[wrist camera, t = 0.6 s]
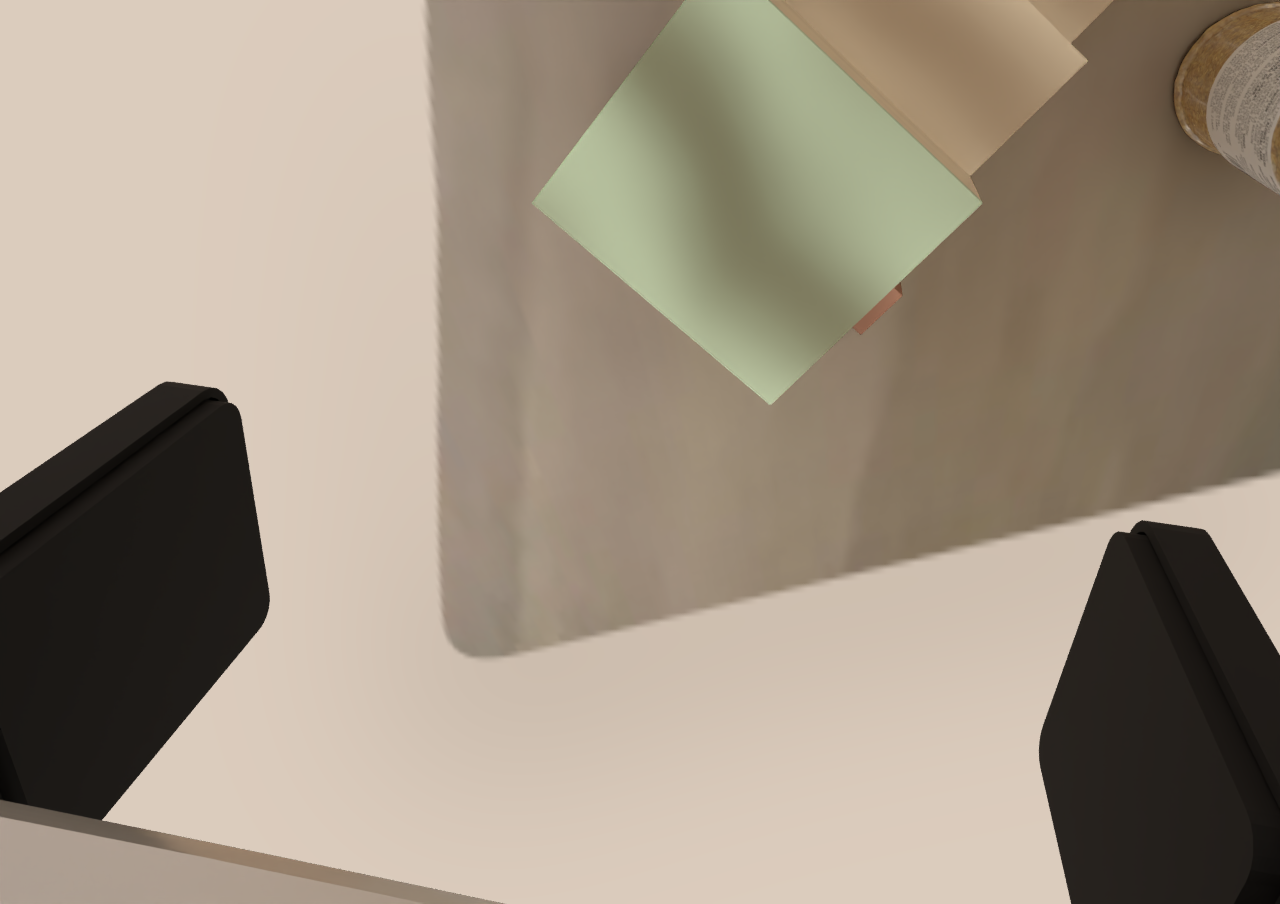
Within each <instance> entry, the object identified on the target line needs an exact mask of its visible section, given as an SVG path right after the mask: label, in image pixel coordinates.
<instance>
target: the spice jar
mask: <svg viewBox="0 0 1280 904" xmlns="http://www.w3.org/2000/svg"><path fill="white" fill-rule="evenodd" d="M1174 86H1175V90H1174V105H1175V110H1176V115H1177V117H1178V119H1179V122H1180V124H1181V127H1182V128H1183V130H1184V131H1185V133H1186V134H1187V135H1188V136H1189V137H1190V138H1191V139H1193V140H1194V141H1195V142H1196V143H1197V144H1198V145H1200V146H1202V147H1204V148H1206V149H1207V150H1209V151H1211V152H1215V153H1217V154H1220V155H1222V156H1223V157H1224V158H1225V159H1226V160H1227V161H1228V162H1230V163H1231V164H1232V165H1234V166H1235V167H1237V168H1238V169H1240V170H1241V171H1243V172H1244V173H1246V174H1247V175H1249V176H1250V177H1252V178H1254V179H1255V180H1257V181H1258V182H1260V183H1261V184H1263V185H1264V186H1266V187H1268V188H1269V189H1271V190H1272V191H1274V192H1275V193H1277V194H1278V195H1280V2H1272V3H1265V4H1258V5H1253V6H1251V7H1248V8H1245V9H1241V10H1239V11H1236V12H1234V13H1232V14H1231V15H1229V16H1227V17H1225V18H1223V19H1222V20H1221V21H1219V22H1217V23H1215V24H1214V25H1212V26H1211V27H1209V28H1208V29H1207V30H1206V31H1205V32H1204V33H1203V35H1202V36H1201V37H1200V38H1199V40H1198V41H1197V42H1196V43H1195V44H1194V45H1193V46H1192V48H1191V49H1190V51H1189V52H1188V54H1187V55H1186V57H1185V58H1184V60H1183V62H1182V64H1181V66H1180V69H1179V72H1178V75H1177V78H1176V80H1175V83H1174Z"/></svg>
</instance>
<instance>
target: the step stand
mask: <svg viewBox="0 0 1280 904" xmlns="http://www.w3.org/2000/svg"><path fill="white" fill-rule="evenodd" d="M1113 1H1114V0H685V1H684V2H683V4H682V5H681V6H680V7H679V9H678V10H677V11H676V13H675V14H674V15H673V17H672V18H671V19H670V21H669V22H668V23H667V25H666V26H665V27H664V29H663V30H662V31H661V33H660V34H659V35H658V37H657V38H656V39H655V41H654V42H653V43H652V45H651V46H650V47H649V49H648V50H647V51H646V52H645V54H644V55H643V56H642V58H641V59H640V60H639V62H638V63H637V64H636V66H635V67H634V68H633V70H632V71H631V72H630V74H629V75H628V76H627V78H626V79H625V80H624V82H623V83H622V84H621V86H620V87H619V88H618V90H617V91H616V92H615V94H614V95H613V96H612V98H611V99H610V100H609V101H608V103H607V104H606V105H605V107H604V108H603V109H602V111H601V112H600V113H599V115H598V116H597V117H596V119H595V120H594V121H593V123H592V124H591V125H590V127H589V128H588V129H587V131H586V132H585V133H584V135H583V136H582V137H581V139H580V140H579V141H578V143H577V144H576V145H575V146H574V148H573V149H572V150H571V152H570V153H569V154H568V156H567V157H566V158H565V160H564V161H563V162H562V164H561V165H560V166H559V168H558V169H557V170H556V172H555V173H554V174H553V176H552V177H551V178H550V180H549V181H548V182H547V184H546V185H545V186H544V188H543V189H542V190H541V191H540V193H539V194H538V195H537V197H536V198H535V199H534V201H533V202H532V204H533V205H534V206H535V207H537V208H538V209H539V210H540V211H541V212H543V213H544V214H545V215H546V216H547V217H548V218H550V219H551V220H552V221H553V222H554V223H556V224H557V225H558V226H559V227H560V228H561V229H563V230H564V231H565V232H566V233H567V234H569V235H570V236H571V237H572V238H573V239H574V240H576V241H577V242H578V243H579V244H580V245H582V246H583V247H584V248H585V249H586V250H587V251H589V252H590V253H591V254H592V255H593V256H595V257H596V258H597V259H598V260H599V261H600V262H602V263H603V264H604V265H605V266H606V267H607V268H609V269H610V270H611V271H612V272H613V273H615V274H616V275H617V276H618V277H619V278H620V279H622V280H623V281H624V282H625V283H626V284H628V285H629V286H630V287H631V288H632V289H633V290H635V291H636V292H637V293H638V294H639V295H641V296H642V297H643V298H644V299H645V300H646V301H648V302H649V303H650V304H651V305H652V306H654V307H655V308H656V309H657V310H658V311H659V312H661V313H662V314H663V315H664V316H665V317H666V318H668V319H669V320H670V321H671V322H672V323H674V324H675V325H676V326H677V327H678V328H679V329H681V330H682V331H683V332H684V333H685V334H687V335H688V336H689V337H690V338H691V339H692V340H694V341H695V342H696V343H697V344H698V345H700V346H701V347H702V348H703V349H704V350H705V351H707V352H708V353H709V354H710V355H711V356H713V357H714V358H715V359H716V360H717V361H718V362H720V363H721V364H722V365H723V366H724V367H725V368H727V369H728V370H729V371H730V372H731V373H733V374H734V375H735V376H736V377H737V378H738V379H740V380H741V381H742V382H743V383H744V384H746V385H747V386H748V387H749V388H750V389H751V390H753V391H754V392H755V393H756V394H757V395H759V396H760V397H761V398H762V399H763V400H764V401H766V402H767V403H768V404H769V405H771V404H772V403H773V402H775V401H776V400H777V399H778V398H779V397H780V396H781V395H782V394H783V393H784V392H785V391H786V390H787V389H788V388H789V387H790V386H791V385H792V384H793V383H794V382H796V381H797V380H798V379H799V378H800V377H801V376H802V375H803V374H804V373H805V372H806V371H807V370H808V369H809V368H810V367H811V366H812V365H813V364H814V363H815V362H817V361H818V360H819V359H820V358H821V357H822V356H823V355H824V354H825V353H826V352H827V351H828V350H829V349H830V348H831V347H832V346H833V345H834V344H835V343H836V342H837V341H839V340H840V339H841V338H842V337H843V336H844V335H845V334H846V333H847V332H848V331H849V330H850V329H851V328H854V329H855V330H856V331H857V332H858V333H859V334H860V335H861V334H862V333H863V332H864V331H865V330H867V329H868V328H869V327H870V326H871V325H872V324H873V323H874V322H875V321H876V320H877V319H878V318H879V317H880V316H881V315H882V314H884V313H885V312H886V311H887V310H888V309H889V308H890V307H891V306H892V305H893V304H894V303H895V302H896V301H897V300H898V299H899V298H901V297H902V289H901V282H900V281H902V280H903V279H904V278H905V277H906V276H907V275H908V274H909V273H910V272H911V271H912V270H913V269H914V268H915V267H916V266H917V265H918V264H919V263H920V262H921V261H923V260H924V259H925V258H926V257H927V256H928V255H929V254H930V253H931V252H932V251H933V250H934V249H935V248H936V247H937V246H938V245H939V244H940V243H941V242H942V241H944V240H945V239H946V238H947V237H948V236H949V235H950V234H951V233H952V232H953V231H954V230H955V229H956V228H957V227H958V226H959V225H960V224H961V223H962V222H963V221H965V220H966V219H967V218H968V217H969V216H970V215H971V214H972V213H973V212H974V211H975V210H976V209H977V208H978V207H979V206H980V205H981V204H982V201H981V199H980V197H979V195H978V192H977V190H976V188H975V186H974V184H973V182H972V180H971V178H970V176H971V175H972V174H973V173H974V172H975V171H976V170H977V169H978V168H979V167H980V166H981V165H982V164H983V163H984V162H985V161H986V160H987V159H988V158H989V157H990V156H991V155H992V154H993V153H994V152H995V151H997V150H998V149H999V148H1000V147H1001V146H1002V145H1003V144H1004V143H1005V142H1006V141H1007V140H1008V139H1009V138H1010V137H1011V136H1012V135H1013V134H1014V133H1015V132H1016V131H1017V130H1018V129H1019V128H1020V127H1021V126H1022V125H1023V124H1024V123H1025V122H1026V121H1027V120H1028V119H1029V118H1030V117H1031V116H1032V115H1033V114H1034V113H1035V112H1036V111H1037V110H1038V109H1040V108H1041V107H1042V106H1043V105H1044V104H1045V103H1046V102H1047V101H1048V100H1049V99H1050V98H1051V97H1052V96H1053V95H1054V94H1055V93H1056V92H1057V91H1058V90H1059V89H1060V88H1061V87H1062V86H1063V85H1064V84H1065V83H1066V82H1067V81H1068V80H1069V79H1070V78H1071V77H1072V76H1073V75H1074V74H1075V73H1076V72H1077V71H1078V70H1079V69H1080V68H1081V67H1083V66H1084V65H1085V64H1086V63H1087V62H1088V60H1087V59H1086V58H1085V57H1084V56H1083V55H1082V54H1081V53H1080V52H1079V51H1078V50H1077V49H1076V48H1075V47H1074V46H1073V45H1072V44H1071V42H1072V41H1073V40H1074V39H1075V38H1076V37H1077V36H1079V35H1080V34H1081V33H1082V32H1083V31H1084V30H1085V29H1086V28H1087V27H1088V26H1089V25H1090V24H1091V23H1092V22H1093V21H1094V20H1095V19H1096V18H1097V17H1098V16H1099V15H1100V14H1101V13H1102V12H1103V11H1104V10H1105V9H1106V8H1107V7H1108V6H1109V5H1110V4H1111V3H1112V2H1113Z"/></svg>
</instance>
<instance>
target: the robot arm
mask: <svg viewBox="0 0 1280 904" xmlns="http://www.w3.org/2000/svg"><path fill="white" fill-rule="evenodd" d="M269 602H270V596H269V588H268V582H267V576H266V569H265V564H264V557H263V551H262V545H261V538H260V532H259V526H258V520H257V513H256V507H255V501H254V495H253V489H252V482H251V476H250V470H249V463H248V457H247V451H246V445H245V438H244V432H243V426H242V420H241V416H240V412H239V410H238V408H237V407H236V406H235V405H234V404H232V403H228V400H227V398H226V396H225V395H224V393H223V392H221V391H220V390H219V389H217V388H211V387H204V386H197V385H190V384H183V383H176V382H164V383H162V384H160V385H158V386H156V387H155V388H153V389H152V390H150V391H149V392H148V393H146V394H144V395H143V396H141V397H140V398H139V399H137V400H136V401H134V402H133V403H131V404H130V405H128V406H127V407H125V408H124V409H122V410H121V411H119V412H118V413H117V414H115V415H114V416H112V417H111V418H109V419H108V420H106V421H105V422H103V423H102V424H101V425H99V426H97V427H96V428H94V429H93V430H91V431H90V432H88V433H87V434H86V435H84V436H83V437H81V438H80V439H78V440H77V441H75V442H74V443H72V444H71V445H69V446H68V447H66V448H65V449H64V450H62V451H61V452H59V453H58V454H56V455H55V456H53V457H52V458H50V459H49V460H47V461H46V462H44V463H43V464H41V465H40V466H39V467H37V468H36V469H34V470H33V471H31V472H30V473H28V474H27V475H25V476H24V477H22V478H21V479H19V480H18V481H16V482H15V483H13V484H12V485H11V486H9V487H8V488H6V489H5V490H3V491H2V492H0V904H503V903H499V902H494V901H489V900H484V899H480V898H475V897H470V896H465V895H461V894H456V893H451V892H446V891H442V890H437V889H432V888H427V887H422V886H418V885H412V884H408V883H403V882H398V881H394V880H389V879H384V878H379V877H374V876H370V875H365V874H360V873H355V872H350V871H345V870H341V869H336V868H331V867H326V866H322V865H317V864H312V863H307V862H302V861H298V860H293V859H288V858H283V857H279V856H273V855H268V854H264V853H259V852H254V851H249V850H244V849H239V848H235V847H230V846H225V845H220V844H215V843H210V842H205V841H199V840H195V839H190V838H185V837H181V836H176V835H171V834H166V833H161V832H156V831H151V830H146V829H141V828H136V827H131V826H126V825H121V824H117V823H111V822H107V821H102V819H103V818H104V817H105V816H106V815H107V813H108V812H109V811H110V810H111V808H112V807H113V806H114V805H115V804H116V802H117V801H118V800H119V799H120V798H121V796H122V795H123V794H124V793H125V792H126V790H127V789H128V788H129V786H130V785H131V784H132V783H133V782H134V781H135V779H136V778H137V777H138V776H139V775H140V773H141V772H142V771H143V770H144V768H145V767H146V766H147V765H148V764H149V762H150V761H151V760H152V759H153V758H154V756H155V755H156V754H157V753H158V751H159V750H160V749H161V748H162V747H163V745H164V744H165V743H166V742H167V741H168V739H169V738H170V737H171V736H172V735H173V733H174V732H175V731H176V730H177V728H178V727H179V726H180V725H181V724H182V722H183V721H184V720H185V719H186V717H187V716H188V715H189V714H190V713H191V712H192V710H193V709H194V708H195V707H196V705H197V704H198V703H199V702H200V700H201V699H202V698H203V697H204V696H205V695H206V693H207V692H208V691H209V690H210V689H211V687H212V686H213V685H214V684H215V682H216V681H217V680H218V679H219V678H220V676H221V675H222V674H223V673H224V671H225V670H226V669H227V668H228V667H229V666H230V664H231V663H232V662H233V660H234V659H235V658H236V657H237V656H238V654H239V653H240V652H241V651H242V650H243V649H244V647H245V646H246V645H247V644H248V642H249V641H250V640H251V639H252V638H253V636H254V635H255V634H256V633H257V632H258V630H259V629H260V628H261V626H262V625H263V623H264V621H265V618H266V616H267V613H268V609H269ZM1039 761H1040V768H1041V772H1042V776H1043V781H1044V785H1045V790H1046V794H1047V798H1048V803H1049V807H1050V812H1051V816H1052V821H1053V825H1054V829H1055V833H1056V838H1057V842H1058V847H1059V852H1060V856H1061V860H1062V865H1063V869H1064V874H1065V878H1066V883H1067V887H1068V891H1069V896H1070V900H1071V904H1280V655H1279V653H1278V651H1277V650H1276V648H1275V646H1274V644H1273V643H1272V641H1271V639H1270V638H1269V636H1268V634H1267V632H1266V631H1265V629H1264V628H1263V626H1262V624H1261V622H1260V621H1259V619H1258V617H1257V616H1256V614H1255V612H1254V610H1253V609H1252V607H1251V605H1250V603H1249V602H1248V600H1247V598H1246V597H1245V595H1244V593H1243V592H1242V590H1241V588H1240V586H1239V585H1238V583H1237V581H1236V579H1235V578H1234V576H1233V574H1232V573H1231V571H1230V569H1229V567H1228V566H1227V564H1226V562H1225V561H1224V559H1223V557H1222V555H1221V554H1220V552H1219V550H1218V549H1217V547H1216V545H1215V544H1214V542H1213V540H1212V538H1211V537H1210V535H1209V534H1208V533H1207V532H1206V531H1205V530H1203V529H1198V528H1192V527H1184V526H1177V525H1171V524H1164V523H1157V522H1150V521H1143V520H1142V521H1140V522H1138V523H1136V525H1135V526H1134V527H1133V528H1132V530H1131V532H1130V533H1125V532H1116V533H1115V534H1114V535H1113V536H1112V537H1111V539H1110V541H1109V543H1108V545H1107V549H1106V551H1105V554H1104V556H1103V559H1102V562H1101V565H1100V568H1099V570H1098V573H1097V576H1096V579H1095V582H1094V584H1093V587H1092V590H1091V593H1090V596H1089V598H1088V601H1087V604H1086V607H1085V610H1084V613H1083V615H1082V618H1081V621H1080V624H1079V626H1078V629H1077V632H1076V635H1075V638H1074V640H1073V643H1072V646H1071V649H1070V652H1069V654H1068V658H1067V660H1066V663H1065V666H1064V668H1063V671H1062V674H1061V677H1060V680H1059V683H1058V685H1057V688H1056V691H1055V694H1054V696H1053V699H1052V702H1051V705H1050V708H1049V711H1048V713H1047V716H1046V719H1045V722H1044V724H1043V728H1042V731H1041V736H1040V744H1039Z"/></svg>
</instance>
